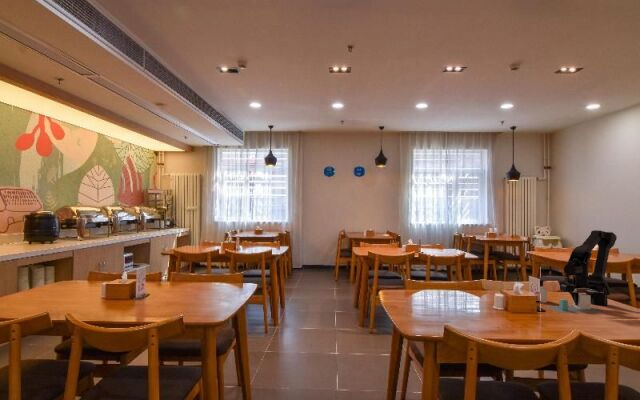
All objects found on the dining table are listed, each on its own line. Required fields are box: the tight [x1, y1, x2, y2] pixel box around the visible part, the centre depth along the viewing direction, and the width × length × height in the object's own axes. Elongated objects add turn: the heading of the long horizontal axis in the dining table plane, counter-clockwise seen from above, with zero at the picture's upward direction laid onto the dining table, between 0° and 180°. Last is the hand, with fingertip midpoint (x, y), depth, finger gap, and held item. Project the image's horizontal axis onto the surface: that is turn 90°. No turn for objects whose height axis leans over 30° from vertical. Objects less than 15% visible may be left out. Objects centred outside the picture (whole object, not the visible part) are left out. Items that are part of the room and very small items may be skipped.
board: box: [544, 305, 606, 314], centre depth 198 cm, size 22×14×1 cm, turn 89°
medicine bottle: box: [538, 278, 548, 303], centre depth 218 cm, size 7×7×12 cm
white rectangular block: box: [573, 292, 592, 309], centre depth 202 cm, size 5×5×7 cm
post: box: [558, 298, 569, 311], centre depth 197 cm, size 3×3×5 cm
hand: (582, 305), depth 201 cm, fingers closed on white rectangular block, 5 cm apart
